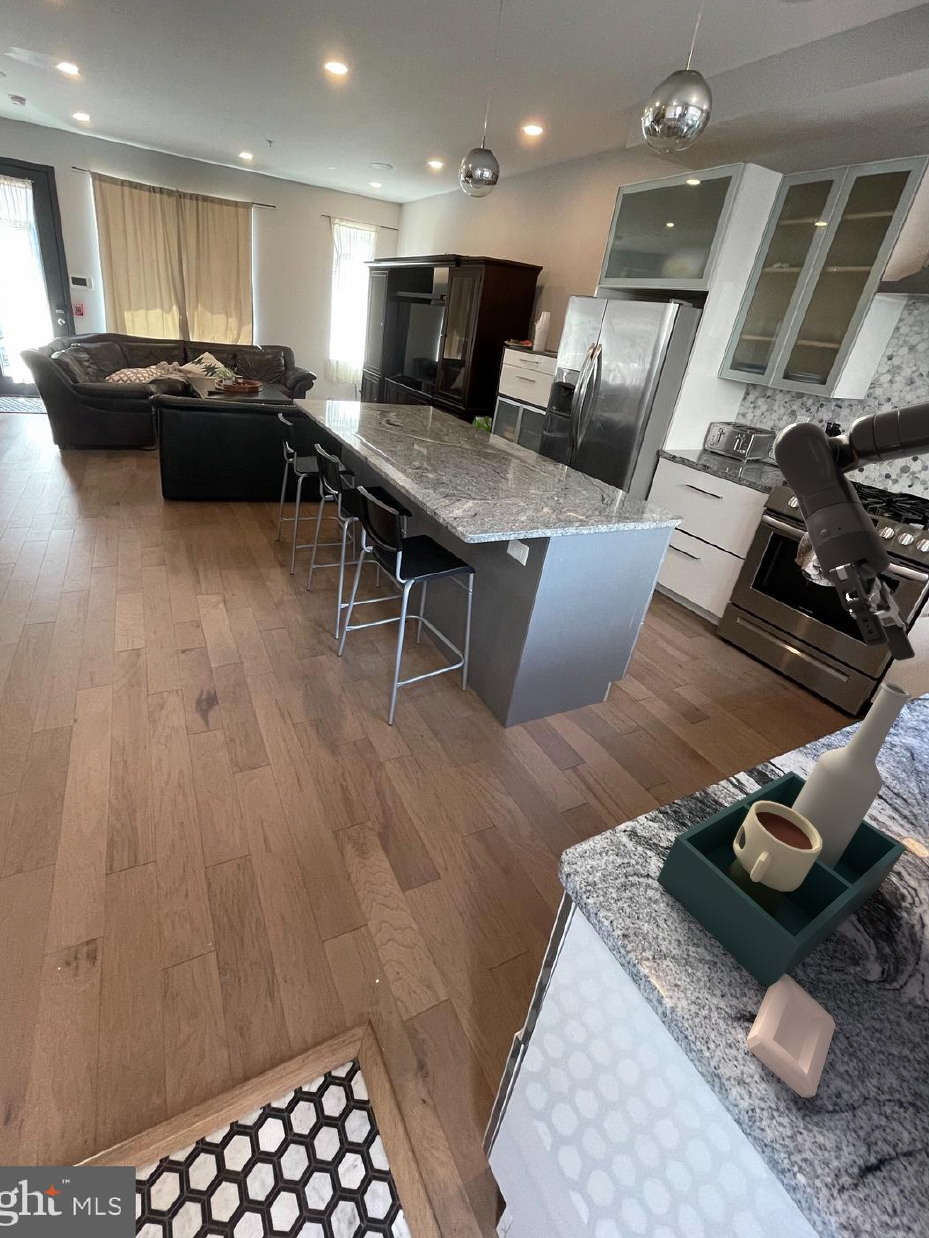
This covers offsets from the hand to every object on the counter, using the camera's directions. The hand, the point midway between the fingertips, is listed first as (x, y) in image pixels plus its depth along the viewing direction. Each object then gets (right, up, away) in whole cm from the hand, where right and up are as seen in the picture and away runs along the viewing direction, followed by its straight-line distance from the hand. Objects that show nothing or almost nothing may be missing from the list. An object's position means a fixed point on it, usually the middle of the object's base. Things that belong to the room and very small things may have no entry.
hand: (892, 652), depth 70 cm
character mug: (-21, -30, -4) cm, 37 cm away
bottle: (-10, -29, +3) cm, 30 cm away
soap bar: (-24, -35, -16) cm, 46 cm away
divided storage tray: (-15, -29, 0) cm, 33 cm away
